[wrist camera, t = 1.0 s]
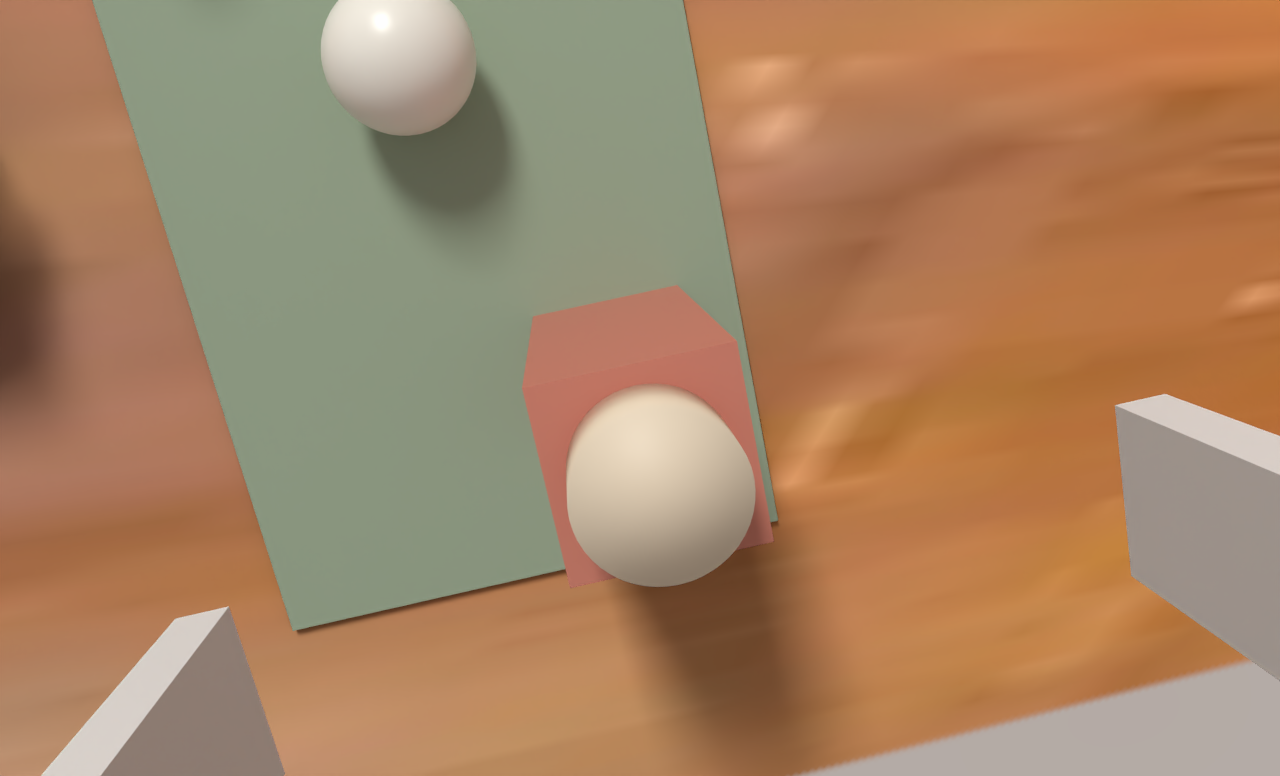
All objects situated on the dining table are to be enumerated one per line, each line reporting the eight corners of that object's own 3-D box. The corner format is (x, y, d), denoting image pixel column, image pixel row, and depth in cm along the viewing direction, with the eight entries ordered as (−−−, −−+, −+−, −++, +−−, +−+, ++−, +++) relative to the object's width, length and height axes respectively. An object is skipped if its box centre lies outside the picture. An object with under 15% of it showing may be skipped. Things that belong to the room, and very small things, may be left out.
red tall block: (565, 455, 30) (571, 631, 19) (532, 316, 29) (518, 412, 18) (704, 424, 31) (796, 579, 19) (676, 284, 30) (756, 359, 18)
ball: (360, 150, 28) (329, 147, 24) (322, 6, 27) (282, -22, 23) (496, 122, 28) (486, 114, 24) (463, -22, 27) (447, -55, 23)
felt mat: (294, 628, 31) (292, 630, 31) (-107, -636, 23) (-113, -643, 23) (776, 518, 32) (778, 520, 32) (544, -750, 24) (544, -758, 24)
